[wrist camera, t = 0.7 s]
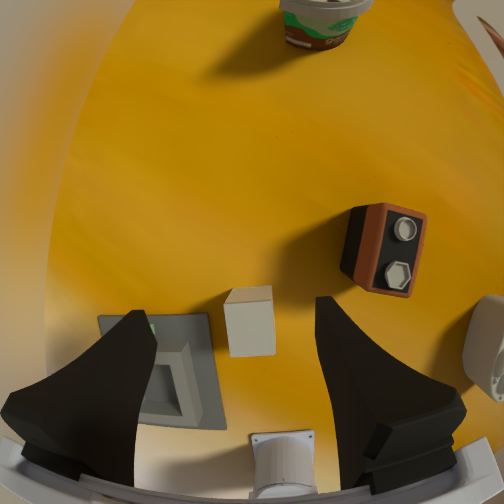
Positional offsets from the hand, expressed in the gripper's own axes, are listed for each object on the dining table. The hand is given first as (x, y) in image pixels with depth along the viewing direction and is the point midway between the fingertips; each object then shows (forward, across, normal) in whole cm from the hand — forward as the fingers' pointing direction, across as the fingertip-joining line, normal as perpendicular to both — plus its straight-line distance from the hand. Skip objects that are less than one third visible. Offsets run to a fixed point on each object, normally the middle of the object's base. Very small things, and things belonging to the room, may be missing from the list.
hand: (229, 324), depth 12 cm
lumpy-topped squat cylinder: (+12, -32, +20) cm, 39 cm away
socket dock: (+12, +12, +19) cm, 26 cm away
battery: (+17, -12, +6) cm, 22 cm away
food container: (+26, -12, -18) cm, 34 cm away
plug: (+15, 0, +11) cm, 19 cm away
